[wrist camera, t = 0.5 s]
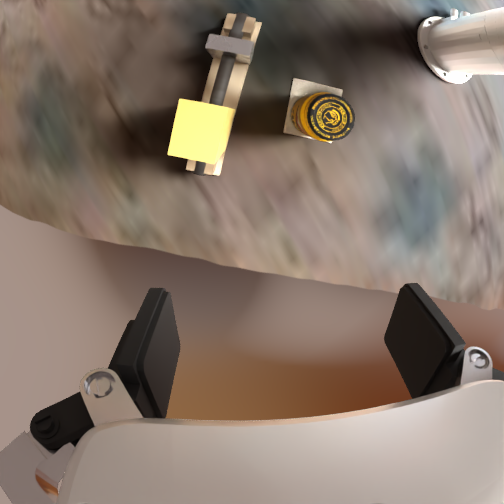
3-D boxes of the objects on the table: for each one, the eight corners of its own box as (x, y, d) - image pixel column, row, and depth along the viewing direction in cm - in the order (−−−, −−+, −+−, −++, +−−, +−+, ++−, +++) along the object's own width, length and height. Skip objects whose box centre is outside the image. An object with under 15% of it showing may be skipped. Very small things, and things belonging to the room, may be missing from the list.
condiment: (283, 132, 38) (294, 140, 28) (293, 77, 34) (309, 64, 24) (331, 143, 39) (359, 155, 28) (342, 89, 35) (374, 83, 24)
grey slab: (215, 44, 31) (209, 33, 26) (253, 52, 32) (254, 41, 26) (212, 57, 32) (205, 47, 27) (250, 64, 33) (249, 56, 27)
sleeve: (200, 102, 35) (179, 98, 25) (235, 109, 35) (228, 107, 25) (190, 143, 37) (167, 154, 27) (224, 150, 38) (214, 164, 28)
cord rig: (227, 17, 30) (224, 6, 26) (261, 24, 30) (262, 13, 26) (187, 167, 41) (179, 174, 36) (219, 174, 41) (215, 182, 37)
